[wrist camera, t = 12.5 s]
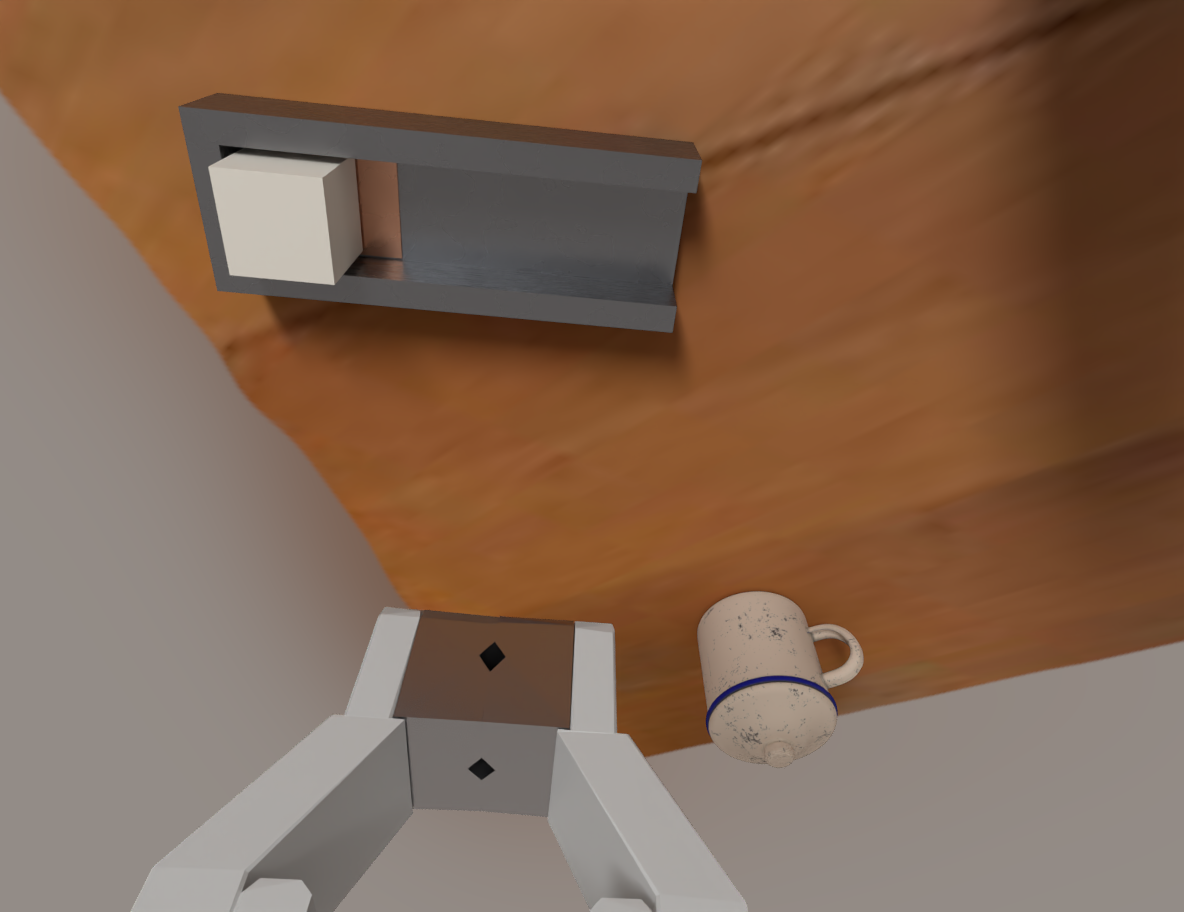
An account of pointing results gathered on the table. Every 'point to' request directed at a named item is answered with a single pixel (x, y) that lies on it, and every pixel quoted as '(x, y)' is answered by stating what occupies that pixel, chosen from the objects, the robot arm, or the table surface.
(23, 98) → the table surface
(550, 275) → the chute
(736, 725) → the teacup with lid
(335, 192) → the block
